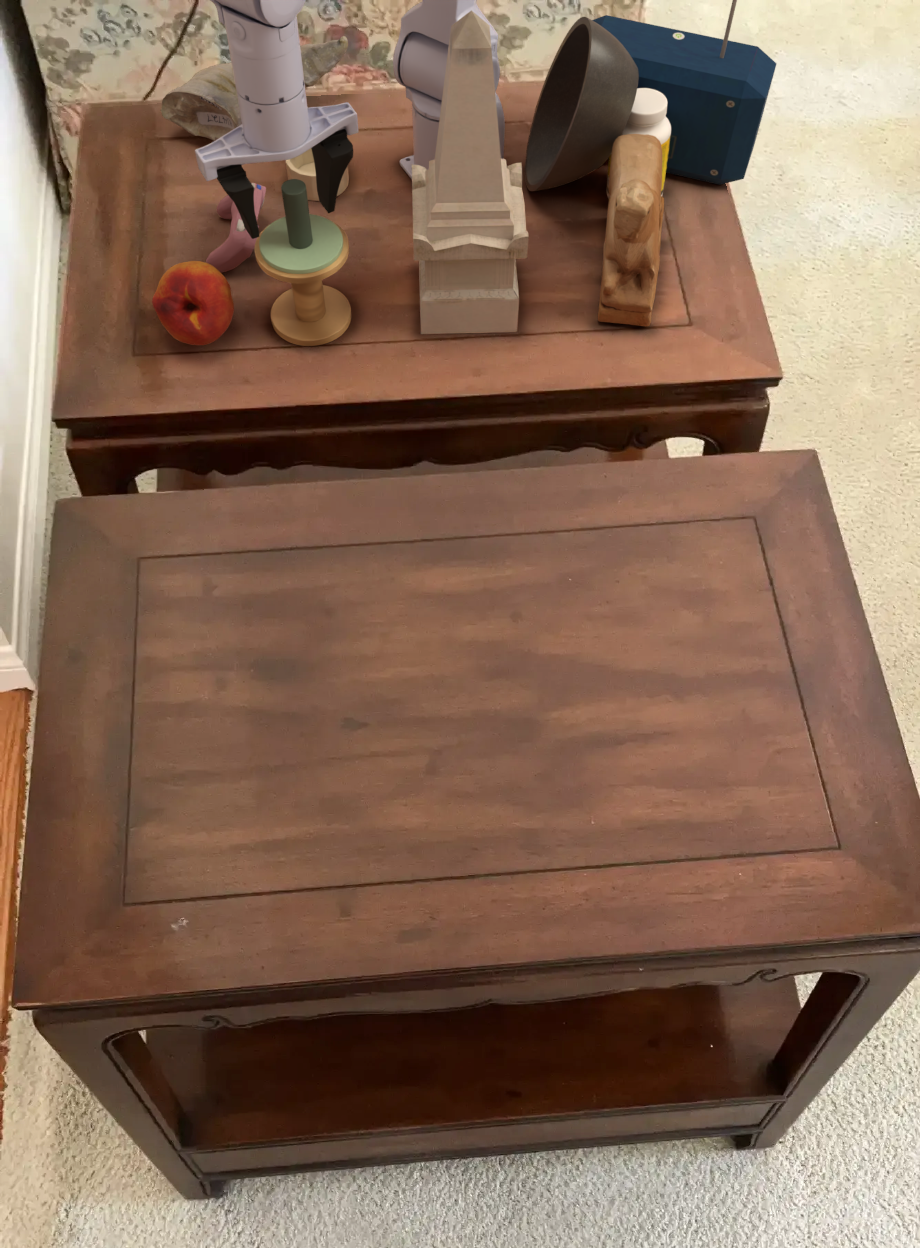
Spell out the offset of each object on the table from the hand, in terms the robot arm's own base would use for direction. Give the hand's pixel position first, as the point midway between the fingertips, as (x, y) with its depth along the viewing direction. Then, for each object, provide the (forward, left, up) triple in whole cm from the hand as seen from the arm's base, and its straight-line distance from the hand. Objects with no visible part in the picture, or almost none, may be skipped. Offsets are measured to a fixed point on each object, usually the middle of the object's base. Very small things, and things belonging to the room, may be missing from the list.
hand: (289, 218), depth 107 cm
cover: (0, +2, -1) cm, 3 cm away
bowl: (-36, 0, -2) cm, 36 cm away
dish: (-10, -17, -10) cm, 22 cm away
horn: (-10, -26, -8) cm, 29 cm away
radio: (-45, -4, -10) cm, 46 cm away
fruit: (+10, -1, -11) cm, 15 cm away
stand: (0, +2, -10) cm, 11 cm away
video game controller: (+2, -11, -11) cm, 15 cm away
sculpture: (-32, +12, -10) cm, 36 cm away
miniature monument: (-15, +7, -11) cm, 20 cm away
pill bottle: (-39, +2, -10) cm, 40 cm away
